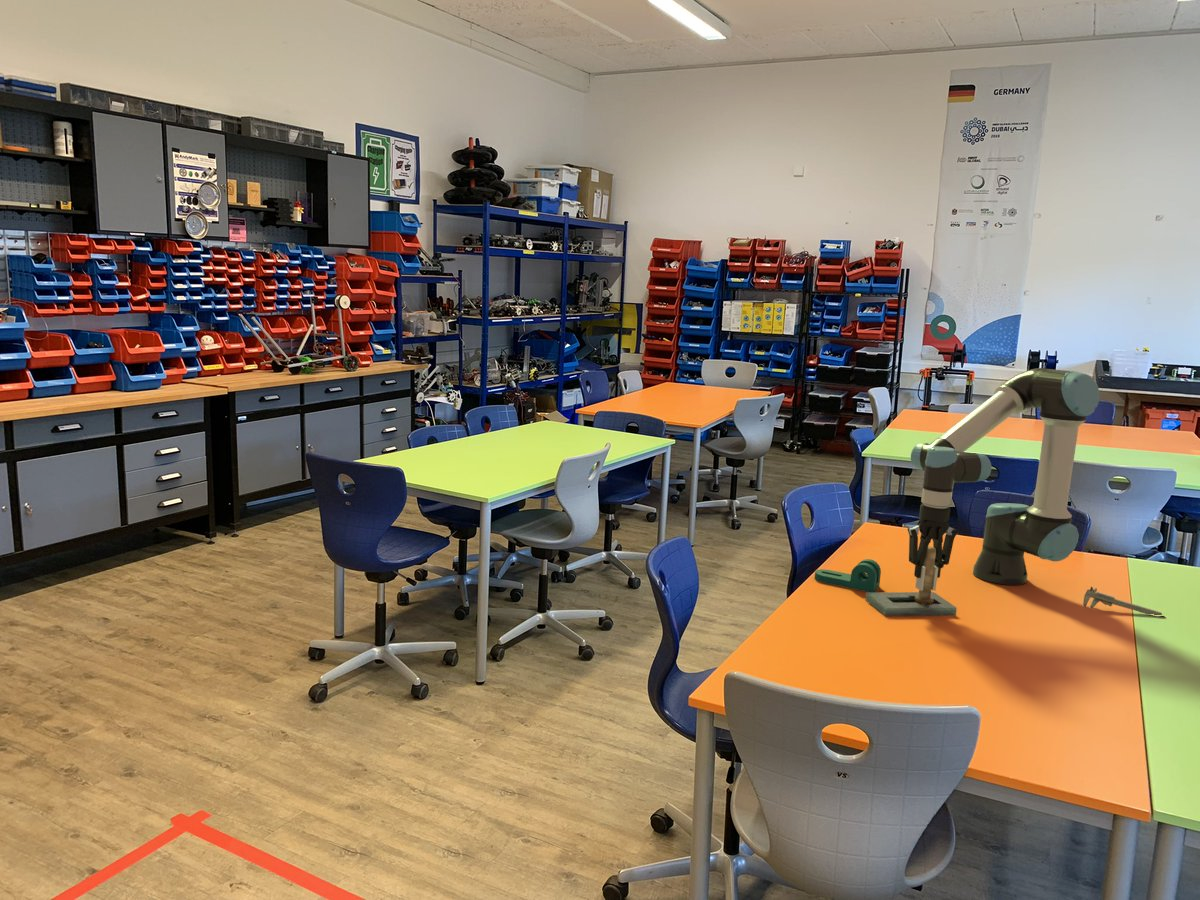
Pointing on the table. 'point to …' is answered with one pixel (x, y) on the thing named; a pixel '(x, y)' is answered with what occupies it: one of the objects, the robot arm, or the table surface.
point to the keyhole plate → (909, 604)
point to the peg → (927, 578)
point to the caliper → (1114, 602)
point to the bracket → (854, 576)
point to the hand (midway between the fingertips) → (925, 588)
